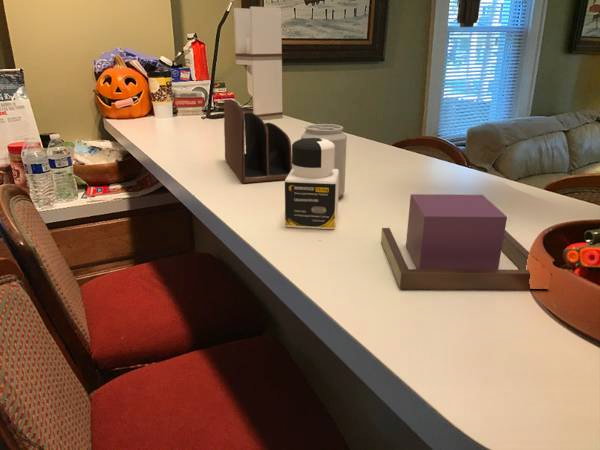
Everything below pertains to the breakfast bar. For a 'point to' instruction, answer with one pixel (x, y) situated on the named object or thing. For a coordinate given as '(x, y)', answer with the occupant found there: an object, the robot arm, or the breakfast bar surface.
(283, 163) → the letter holder
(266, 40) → the white stepped pillar
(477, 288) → the bay
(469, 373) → the breakfast bar surface
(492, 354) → the breakfast bar surface
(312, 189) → the medicine bottle
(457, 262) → the block
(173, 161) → the breakfast bar surface
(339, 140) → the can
